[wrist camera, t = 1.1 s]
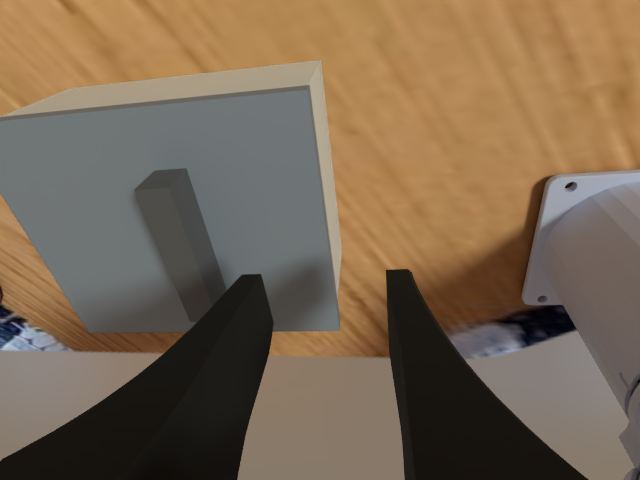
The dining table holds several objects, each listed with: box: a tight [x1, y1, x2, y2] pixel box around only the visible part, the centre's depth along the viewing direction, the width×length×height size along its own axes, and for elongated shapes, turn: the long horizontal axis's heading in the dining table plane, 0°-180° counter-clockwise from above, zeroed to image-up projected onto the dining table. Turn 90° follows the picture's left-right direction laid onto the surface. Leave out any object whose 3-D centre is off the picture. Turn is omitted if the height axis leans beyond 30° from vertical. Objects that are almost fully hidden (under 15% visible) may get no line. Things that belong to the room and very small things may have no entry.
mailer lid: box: [0, 85, 340, 333], centre depth 15 cm, size 12×10×2 cm
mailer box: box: [0, 60, 342, 296], centre depth 19 cm, size 12×10×5 cm
